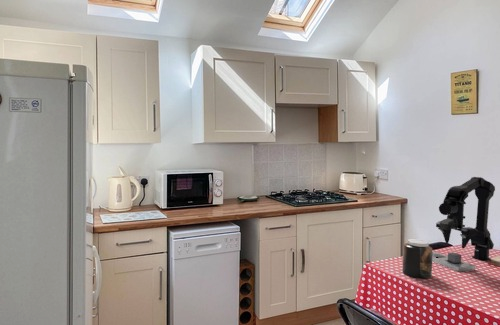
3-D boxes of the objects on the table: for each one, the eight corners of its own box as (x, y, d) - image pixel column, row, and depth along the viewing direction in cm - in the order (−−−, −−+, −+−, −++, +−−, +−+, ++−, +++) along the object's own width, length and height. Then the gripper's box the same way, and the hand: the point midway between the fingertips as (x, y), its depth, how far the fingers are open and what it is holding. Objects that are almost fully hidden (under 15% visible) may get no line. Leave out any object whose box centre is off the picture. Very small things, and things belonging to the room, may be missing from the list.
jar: (402, 276, 157) (404, 242, 156) (402, 268, 168) (403, 236, 167) (432, 280, 153) (434, 246, 152) (430, 272, 163) (431, 239, 163)
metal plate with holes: (434, 255, 191) (434, 251, 191) (474, 269, 168) (475, 265, 168) (419, 256, 188) (419, 252, 188) (458, 271, 165) (458, 267, 165)
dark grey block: (453, 264, 176) (454, 252, 176) (460, 267, 172) (461, 254, 172) (447, 265, 175) (448, 253, 174) (454, 267, 171) (455, 255, 171)
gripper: (428, 210, 179) (426, 241, 179) (460, 217, 161) (458, 252, 161) (445, 210, 182) (444, 240, 183) (479, 217, 164) (477, 250, 165)
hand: (454, 245), depth 173 cm, fingers open, 9 cm apart
